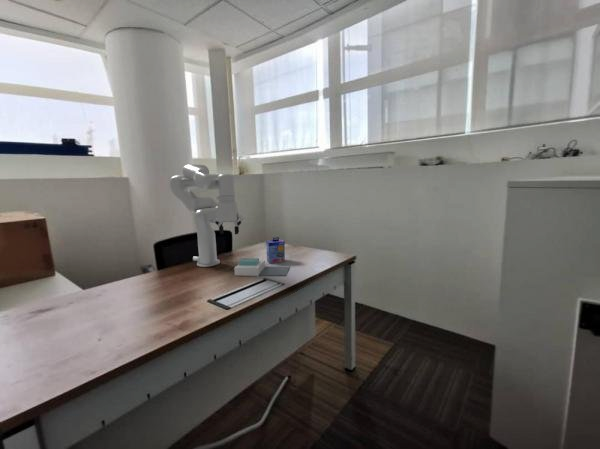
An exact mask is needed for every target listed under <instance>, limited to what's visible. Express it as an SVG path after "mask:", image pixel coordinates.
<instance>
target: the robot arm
mask: <svg viewBox="0 0 600 449" xmlns="http://www.w3.org/2000/svg"><path fill="white" fill-rule="evenodd" d="M181 171H182V172H181V173H182V174H177V175H176V174H175V175H173V176H172V177H171V178H170V179H169V188H170V190H171V192H172V194H173V195H174V196H175V197H176V198H177V199H178V200H180V201H181V203H182V204H183V205H184V206H185V207H186V209H187V210H188V211H189V212H190V213H191V214H192V215H193V220H194V224H195V227H196V228H195V229H196V234H197V247H198V249H197V250H198V256H193V257H192V261H194V262H195V261H197V262H196V266H197V267H201V268H202V267H204V268H206V267H207V268H208V267H214V266H218V265H219V264H220V263H221V261H220V259H218V256H217V242H216V232H215V230H214V229H213V227H212V226H213V225H217V226H218V230H219V235H223V234H224V233H225V231H224V225H223V224H224V223H233V224H234V234H235V235H238V234H239V232H240V225H241V224H242V223H243V221H244V220H245V217H243V216H242V215H241V214H240V213H239V208H238V203H237V201H236V197H235V180H234V175H233V174H230V173H229V174H228V173H226V174H225V173H224V174H216V173H214V174H213V173H211V174H210V170H209V168H208V166H206V165H205V164H195V163H194V164H191V163H190V164H186V165H184V166H183V168H182V170H181ZM199 188H200V189H203V190H218V196H217V197H216V200H218V202H217V201H216V200H215V198H212V197H210V196H206V197H205V196H204V197H201V196H200V197H199V196H197V195H196V194H195V192H193V191H192V190H195V189H196V190H197V189H199Z"/></svg>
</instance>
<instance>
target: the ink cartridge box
mask: <svg viewBox="0 0 600 449" xmlns="http://www.w3.org/2000/svg"><path fill="white" fill-rule="evenodd" d="M265 243H266V246H265V247H266V248H265V249H266V262H267V263H268V264H275V263H282V262H283V261H284V262H285V261H286V258H285V257H286V254H285V252H286V251H285V248H286V246H285V240H283V239H280V236H277V237H272V240H266V241H265ZM284 262H283V263H284Z"/></svg>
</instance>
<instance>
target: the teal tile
mask: <svg viewBox="0 0 600 449" xmlns="http://www.w3.org/2000/svg"><path fill="white" fill-rule="evenodd" d="M259 260H260V258H259V257H258V258H257V257H256V258H255V257H254V258H253V257H252V258H251V257H245V258H244V257H242V258H240V259H239V260H238V264H239V265H257V264H258V263H259Z"/></svg>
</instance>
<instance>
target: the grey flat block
mask: <svg viewBox="0 0 600 449" xmlns="http://www.w3.org/2000/svg"><path fill="white" fill-rule="evenodd" d="M265 261H266V260H265V259H259V263H258V264H257V265H239V263H237V265H236V266H235V267H234V276H245V277H247V276H250V277H251V276H252V277H254V276H256V277H260V274H261V272H262V271H263V269H264V268H265V267H266V265H265V264H266V263H265Z"/></svg>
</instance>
